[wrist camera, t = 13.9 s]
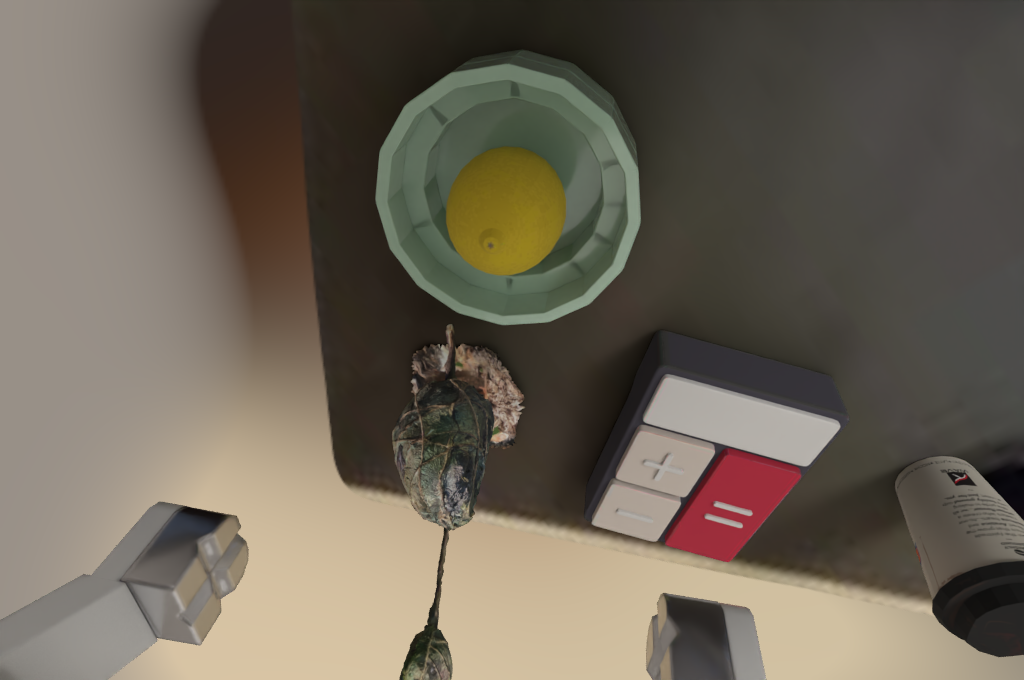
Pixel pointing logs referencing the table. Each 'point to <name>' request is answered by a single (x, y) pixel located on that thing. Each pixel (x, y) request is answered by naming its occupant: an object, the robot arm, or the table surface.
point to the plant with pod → (450, 457)
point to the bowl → (530, 125)
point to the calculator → (709, 445)
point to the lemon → (506, 210)
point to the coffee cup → (967, 552)
